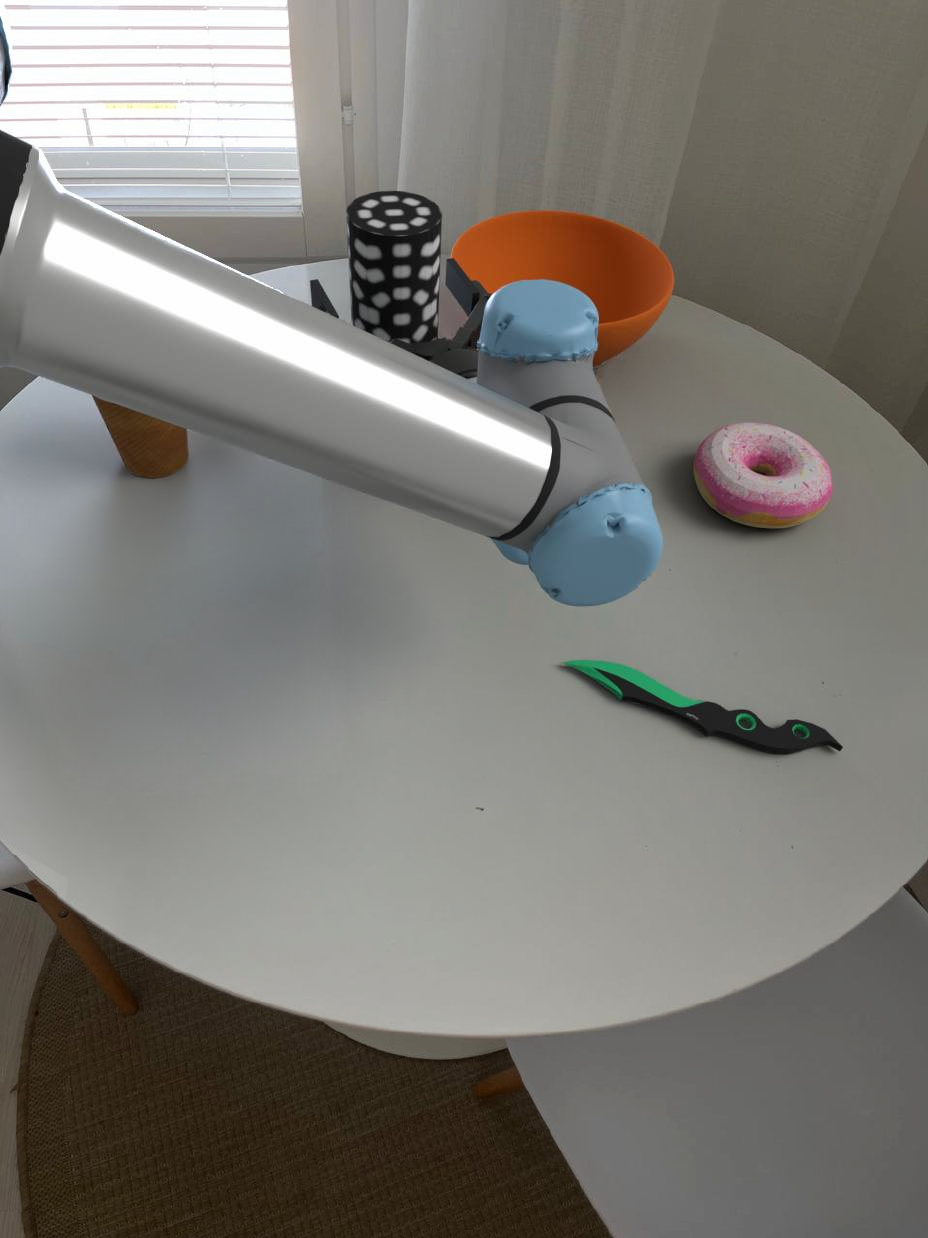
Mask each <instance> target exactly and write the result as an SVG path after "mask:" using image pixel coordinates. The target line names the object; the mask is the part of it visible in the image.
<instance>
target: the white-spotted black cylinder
mask: <svg viewBox="0 0 928 1238" xmlns="http://www.w3.org/2000/svg"><path fill="white" fill-rule="evenodd" d="M345 212H346V232H347V233H346V234H347V251H348V253H347V254H348V275H349V295H350V297H349V298H350V316H351V325H353V326H355V327H357V328H359V329H361V330H364V331H366V332H368V333H370V334H372V335H374V336H376V337H378V338H381V339H384V340H387V341H389V342H391V341H392V340H393V339H398V340H401V341H404V342H407V343H410V344H412V343H418V342H430V341H433V340H436V339H439V338H438V337H439V314H440V313H439V312H440V310H439V309H440V281H441V256H442V255H441V254H442V253H441V252H442V226H443V214H442V210H441V207H440V206H439V205H438V204H437V203H436V202H435V201H434V200H432V199H430V198H429V197H426V196H424V195H421V194H418V193H414V192H409V191H403V190H381V191H380V190H379V191H374V192H373V191H372V192H368V193H365V194H362V195H360V196H359V197H356V198H355V199H353V200H352V201H350V203H349V204H348V205H347V208H346V211H345Z"/></svg>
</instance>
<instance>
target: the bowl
mask: <svg viewBox="0 0 928 1238" xmlns="http://www.w3.org/2000/svg"><path fill="white" fill-rule="evenodd" d="M450 258H454V259H455V260H456V262H457V263H458V264H459V266H460V267H461V268H462V270H463V271H464V272H465V273H466V275H467V276H468V277H469V279H470V280H471V281H473V280H477V281H478V282H480V283H481V285H482V286H483V287H484V288H485V290H486V291H487V292H488V293H491V294H494V293H495V292H496V291H497V290H499V289H500V288H502V287H503V286H505V285H508V284H510V283H513V282H517V281H522V280H541V279H542V280H551V281H556V282H560V283H564V284H566V285H569V286H571V287H574V288H576V289H578V290H579V291H581V292H583V293H584V294H585V295H586V296H588V297H589V298H590V299H591V301H592V302H593V303H594V305H595V307H596V309H597V311H598V317H599V321H598V332H597V341H598V347H597V351H595V354H594V357H593V369H595V368H596V367H597V366H599V365H600V364H602V363H604V362H606V361H609V360H611V359H613V358H615V357H617V356H618V355H619V354H622V353H624V352H625V351H626V350H627V349H629V348H631V347H632V346H633V345H634V344H636V343H637V342H638V341H639V340H640V339H641V338H643V337H644V336H645V335H646V334H647V333H648V332H649V330H651V329H652V328H653V326H654V325H655V324H656V323H657V322H658V320H659V319H660V317H661V316H662V314H663V313H664V311H665V309H666V307H667V306H668V303H669V301H670V299H671V296H672V294H673V291H674V287H675V273H674V269H673V266H672V264H671V261H670V260H669V259H668V257H667V256H666V254H665V253H664V252H663V251H662V250H661V249H660V248H659V246H658V245H656V244H655V243H654V242H652V241H651V240H650V239H648V238H647V237H646V236H644V235H643V234H640V233H639V232H637V231H635V230H634V229H632V228H630V227H627V226H625V225H623V224H620V223H618V222H616V221H612V220H608V219H607V218H606V219H605V218H603V217H598V216H594V215H591V214H587V213H586V214H585V213H580V212H573V211H565V210H554V209H553V210H552V209H550V210H549V209H548V210H547V209H545V210H544V209H541V210H538V209H537V210H534V209H533V210H523V211H516V212H515V211H514V212H509V213H504V214H500V215H497V216H493V217H490V218H488V219H484V220H483V221H480V222H477V223H476V224H475V225H472V226H471V227H469V229H467V230H465V231H464V232H463V233H462V234H461V235H460V236H459V237H458V238H457V240H456V241H455V242H454V244H453V247H452V249H451V253H450V257H449V259H450ZM463 312H464V313H465V311H464V310H463ZM465 315H466V317H467V319H468V318H469V317H468V315H467V314H466V313H465Z"/></svg>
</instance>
